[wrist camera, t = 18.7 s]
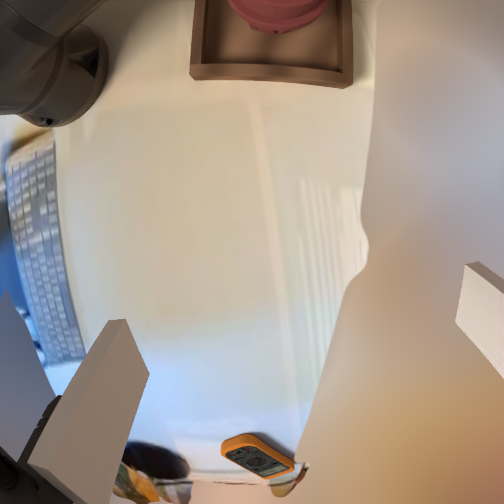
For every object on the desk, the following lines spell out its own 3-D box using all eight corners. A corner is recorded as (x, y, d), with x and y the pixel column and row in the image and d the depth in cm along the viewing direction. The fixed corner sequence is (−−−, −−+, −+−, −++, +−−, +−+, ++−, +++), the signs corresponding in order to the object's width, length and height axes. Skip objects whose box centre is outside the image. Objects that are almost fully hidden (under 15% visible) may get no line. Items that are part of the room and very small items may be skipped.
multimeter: (248, 428, 53) (248, 441, 50) (295, 459, 59) (296, 471, 55) (216, 441, 55) (215, 453, 52) (265, 470, 60) (266, 481, 57)
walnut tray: (195, 80, 32) (189, 74, 29) (204, -34, 26) (201, -47, 22) (343, 88, 32) (352, 84, 29) (340, -25, 26) (348, -36, 23)
